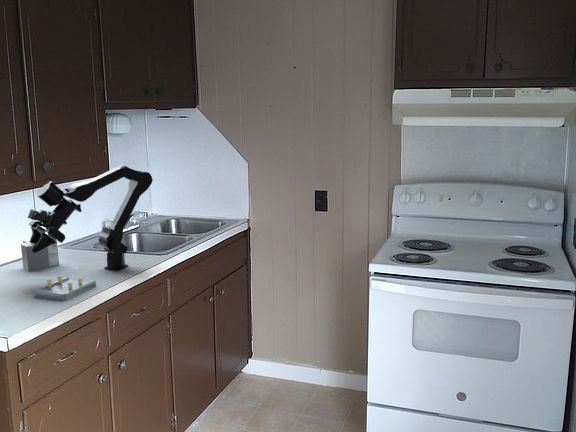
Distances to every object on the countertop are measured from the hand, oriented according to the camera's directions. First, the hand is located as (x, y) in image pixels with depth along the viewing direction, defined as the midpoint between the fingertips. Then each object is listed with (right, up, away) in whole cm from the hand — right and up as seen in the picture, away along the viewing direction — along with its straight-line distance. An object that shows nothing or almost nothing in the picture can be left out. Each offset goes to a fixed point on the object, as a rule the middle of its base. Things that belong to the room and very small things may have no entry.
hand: (30, 250), depth 197 cm
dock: (+13, -13, -4) cm, 19 cm away
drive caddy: (+1, -6, +2) cm, 7 cm away
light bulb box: (-7, -8, +25) cm, 27 cm away
